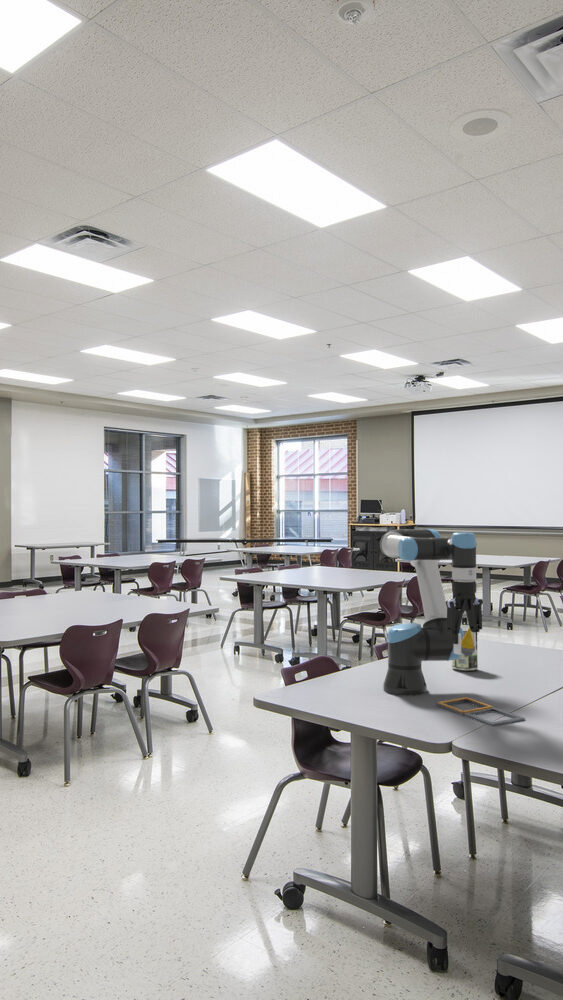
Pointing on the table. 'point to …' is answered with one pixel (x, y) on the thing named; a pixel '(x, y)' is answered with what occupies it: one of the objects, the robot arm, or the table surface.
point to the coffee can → (466, 661)
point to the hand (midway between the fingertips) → (464, 652)
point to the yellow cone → (467, 644)
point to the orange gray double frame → (478, 711)
